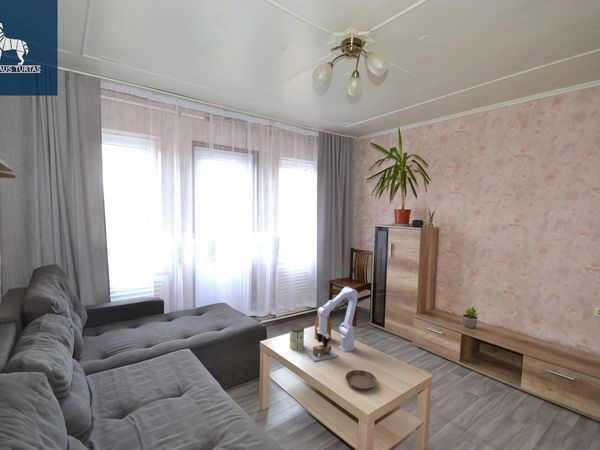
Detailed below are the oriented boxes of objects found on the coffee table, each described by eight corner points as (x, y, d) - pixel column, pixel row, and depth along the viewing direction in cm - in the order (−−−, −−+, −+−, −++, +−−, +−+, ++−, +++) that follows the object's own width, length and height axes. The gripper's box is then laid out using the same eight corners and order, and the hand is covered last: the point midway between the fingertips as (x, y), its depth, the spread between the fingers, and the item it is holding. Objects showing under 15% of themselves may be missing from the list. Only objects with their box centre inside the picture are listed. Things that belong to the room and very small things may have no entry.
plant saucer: (339, 383, 161) (339, 378, 161) (355, 371, 174) (355, 366, 174) (367, 397, 149) (367, 392, 149) (382, 383, 162) (382, 377, 162)
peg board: (329, 348, 201) (329, 344, 201) (338, 356, 190) (338, 351, 190) (306, 353, 194) (306, 348, 194) (314, 362, 183) (314, 356, 183)
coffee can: (293, 342, 210) (293, 324, 209) (305, 345, 205) (306, 326, 205) (287, 348, 200) (287, 329, 200) (300, 351, 196) (300, 332, 195)
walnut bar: (328, 350, 196) (328, 343, 196) (331, 353, 193) (331, 346, 192) (313, 353, 191) (313, 346, 191) (315, 356, 188) (315, 349, 188)
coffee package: (321, 334, 225) (322, 307, 224) (332, 339, 216) (333, 311, 215) (312, 337, 219) (313, 309, 218) (323, 343, 209) (324, 314, 208)
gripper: (313, 321, 196) (312, 340, 197) (322, 330, 183) (322, 350, 184) (321, 320, 199) (321, 339, 200) (332, 328, 186) (331, 348, 186)
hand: (322, 344), depth 192 cm, fingers open, 7 cm apart
